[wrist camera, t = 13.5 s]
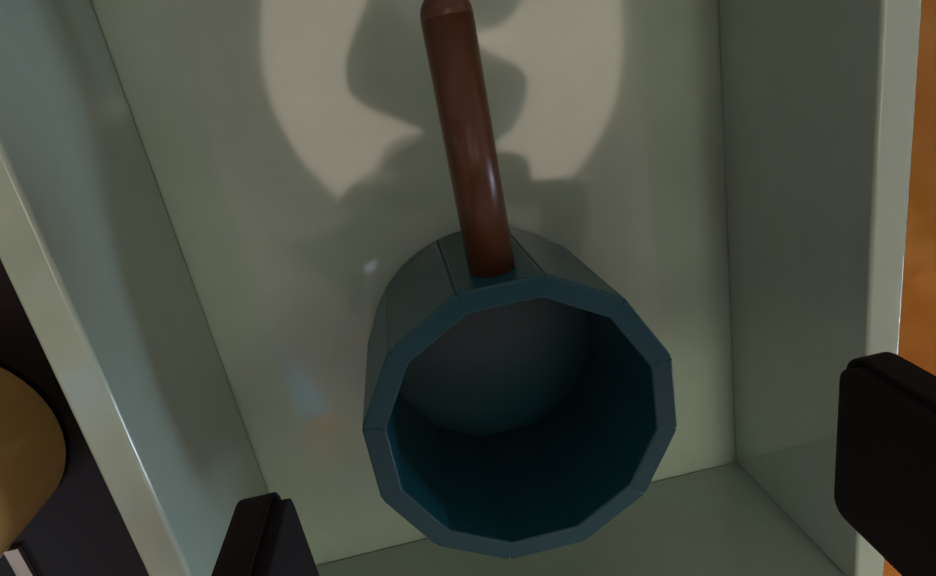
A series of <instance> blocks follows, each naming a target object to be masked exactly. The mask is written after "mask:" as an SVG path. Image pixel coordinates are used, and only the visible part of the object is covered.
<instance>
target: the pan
mask: <svg viewBox="0 0 936 576" xmlns="http://www.w3.org/2000/svg"><path fill="white" fill-rule="evenodd" d="M420 22H421V28H422V33H423V38H424V43H425V48H426V53H427V59H428V64H429V69H430V74H431V79H432V84H433V90H434V95H435V100H436V105H437V110H438V115H439V121H440V126H441V131H442V136H443V141H444V146H445V152H446V157H447V162H448V167H449V172H450V178H451V183H452V188H453V193H454V198H455V203H456V209H457V214H458V219H459V224H460V229H461V231H459V232H455V233H452V234H450V235H447V236H445V237H442V238H440V239H438V240H436V241H434V242H433V243H431V244H429V245H427V246H426V247H424V248H423V249H421V250H420V251H419V252H417V253H416V254H415V255H413V256H412V257H411V258H410V259H409V260H408V261H407V262H406V263H405V264H404V265H403V266H402V267H401V268H400V269H399V270H398V272H397V273H396V274H395V276H394V277H393V278H392V279H391V281H390V282H389V283H388V286H386V288H385V291H384V293H383V295H382V297H381V300H380V302H379V305H378V307H377V310H376V314H375V318H374V322H373V328H372V331H371V334H370V337H369V340H368V349H367V363H366V378H365V393H364V408H363V423H362V432H363V436H364V439H365V443H366V446H367V450H368V453H369V457H370V460H371V464H372V467H373V471H374V474H375V478H376V482H377V485H378V489H379V492H380V496H381V497H382V498H383V500H384V502H386V503H387V504H388V505H389V506H390V507H392V508H393V509H394V510H395V511H396V512H398V513H399V514H400V515H401V516H402V517H403V518H405V519H406V520H407V521H408V522H409V523H411V524H412V525H413V526H414V527H415V528H417V529H418V530H419V531H420V532H421V533H423V534H424V535H425V536H426V537H427V538H428V539H430V540H431V541H432V542H433V543H434V544H438V545H439V546H441V547H446V548H451V549H457V550H462V551H467V552H472V553H478V554H483V555H488V556H493V557H499V558H504V559H509V558H511V559H515V558H519V557H523V556H527V555H531V554H535V553H539V552H543V551H547V550H551V549H555V548H559V547H562V546H566V545H570V544H574V543H578V542H582V541H583V539H585V540H586V539H588V538H589V537H590V536H591V535H593V534H594V533H595V532H597V531H598V530H599V529H600V528H602V527H603V526H604V525H606V524H607V523H608V522H609V521H611V520H612V519H613V518H615V517H616V516H617V515H618V514H620V513H621V512H622V511H624V510H625V509H626V508H627V507H629V506H630V505H631V504H633V503H634V502H635V501H636V500H638V499H639V498H640V497H642V496H643V493H645V492H646V490H647V488H648V486H649V484H650V482H651V480H652V478H653V476H654V474H655V472H656V470H657V468H658V466H659V464H660V462H661V460H662V458H663V456H664V454H665V452H666V450H667V448H668V446H669V444H670V442H671V440H672V438H673V436H674V434H675V432H676V427H677V419H676V406H675V393H674V380H673V367H672V358H671V355H670V353H669V352H668V351H667V349H666V348H665V347H664V346H663V345H662V343H661V342H660V341H659V340H658V338H657V337H656V336H655V335H654V333H653V332H652V331H651V330H650V329H649V327H648V326H647V325H646V324H645V322H644V321H643V320H642V319H641V317H640V316H639V315H638V314H637V313H636V311H635V310H634V309H633V308H632V306H631V305H630V304H629V303H628V301H627V300H626V299H625V298H623V297H622V296H621V295H620V294H619V293H618V292H616V291H615V290H614V289H613V288H612V287H611V286H610V285H608V284H607V283H606V282H605V281H604V280H603V279H601V278H600V277H599V276H598V275H597V274H596V273H594V272H593V271H592V270H591V269H590V268H589V267H587V266H586V265H585V264H584V263H583V262H582V261H581V260H579V259H578V258H577V257H576V256H575V255H574V254H572V253H571V252H570V251H569V250H568V249H567V248H565V247H563V246H562V245H560V244H557V243H554V242H551V241H549V240H547V239H545V238H544V237H541V236H539V235H536V234H534V233H531V232H528V231H524V230H520V229H516V228H509V224H508V218H507V212H506V206H505V200H504V194H503V188H502V182H501V176H500V170H499V164H498V158H497V152H496V146H495V140H494V133H493V127H492V121H491V115H490V109H489V103H488V97H487V91H486V85H485V79H484V73H483V67H482V61H481V55H480V49H479V43H478V36H477V30H476V24H475V18H474V12H473V8H472V5H471V3H470V0H424V1H423V3H422V5H421V9H420Z"/></svg>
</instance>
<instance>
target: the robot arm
mask: <svg viewBox="0 0 936 576" xmlns="http://www.w3.org/2000/svg"><path fill="white" fill-rule="evenodd" d="M834 500H835V504H836V506H837V509H838V511H839V512H840V514H841V515H842V517H843V518H844V519H845V520H846V521H847V522H848V523H849V524H850V525H851V526H852V527H853V528H854V529H855V530H856V531H857V532H858V533H859V534H860V535H861V536H862V537H863V538H864V539H865V540H866V541H867V542H868V543H869V544H870V545H871V546H872V547H874V548H875V549H876V550H877V551H878V552H879V553H880V554H881V555H882V556H883V557H884V558H885V559H886V560H887V561H888V562H889V563H890V564H891V565H892V566H893V567H894V568H895V569H896V570H897V571H898V572H899V573H900V574H901V575H902V576H936V376H934V375H932V374H931V373H929V372H927V371H925V370H923V369H922V368H920V367H918V366H916V365H914V364H913V363H911V362H909V361H907V360H905V359H903V358H902V357H900V356H898V355H896V354H894V353H891V352H881V353H877V354H872V355H868V356H864V357H859V358H855V359H853V360H851V361H850V362H849V363H848V365H847V368H846V370H844V371H842V373H841V375H840V380H839V401H838V421H837V442H836V462H835V483H834ZM211 576H319V573H318V570H317V567H316V564H315V562H314V559H313V556H312V553H311V550H310V548H309V545H308V542H307V539H306V536H305V534H304V531H303V528H302V525H301V522H300V520H299V517H298V514H297V511H296V508H295V506H294V503H293V501H292V500H291V499H290V498H288V499H283V500H281V497H280V496H279V494H278V493H276V492H272V493H268V494H264V495H259V496H255V497H251V498H246V499H242V500H240V501H239V502H238V503H237V505H236V508H235V510H234V513H233V516H232V519H231V522H230V524H229V527H228V530H227V533H226V536H225V538H224V541H223V544H222V547H221V550H220V552H219V555H218V558H217V561H216V564H215V566H214V569H213V572H212V575H211Z"/></svg>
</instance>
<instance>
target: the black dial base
mask: <svg viewBox="0 0 936 576" xmlns="http://www.w3.org/2000/svg"><path fill="white" fill-rule="evenodd" d="M0 367H1V368H3V369H5V370H7V371H9V372H11V373H12V374H14V375H16V376H17V377H19V378H20V379H22V380H23V381H24V382H26V383H27V384H28V385H29V386H30V387H32V388H33V389H34V390H35V391H36V392H37V393H38V394H39V395H40V396H41V397H42V398H43V399H44V400H45V402H46V403H47V404H48V406H49V407H50V408H51V410H52V411H53V413H54V415H55V416H56V418H57V420H58V422H59V424H60V427H61V429H62V432H63V436H64V440H65V446H66V461H65V469H64V472H63V476H62V479H61V481H60V483H59V485H58V487H57V489H56V490H55V492H54V493H53V494H52V496H51V497H50V498H49V500H48V501H47V502H46V503H45V505H44V506H43V507H42V508H41V509H40V511H39V512H38V513H37V514H36V515H35V517H34V518H33V519H32V520H31V521H30V523H29V524H28V525H27V526H26V528H25V529H24V530H23V531H22V532H21V534H20V535H19V536H18V537H17V538H16V540H15V541H14V542H13V543H12V545H11V546H10V547H9V548H8V549H7V551H6V552H5V553H4V554H3V555H2V557H1V558H0V576H149V574H148V572H147V570H146V567H145V565H144V563H143V561H142V559H141V557H140V555H139V553H138V550H137V548H136V546H135V544H134V542H133V540H132V538H131V536H130V533H129V531H128V529H127V527H126V525H125V523H124V521H123V519H122V516H121V514H120V512H119V510H118V508H117V506H116V504H115V502H114V499H113V497H112V495H111V493H110V491H109V489H108V487H107V485H106V482H105V480H104V478H103V476H102V474H101V472H100V470H99V468H98V465H97V463H96V461H95V459H94V457H93V455H92V453H91V450H90V448H89V446H88V444H87V442H86V440H85V438H84V436H83V433H82V431H81V429H80V427H79V425H78V423H77V421H76V419H75V416H74V414H73V412H72V410H71V408H70V406H69V404H68V402H67V399H66V397H65V395H64V393H63V391H62V389H61V387H60V385H59V382H58V380H57V378H56V376H55V374H54V372H53V370H52V368H51V365H50V363H49V361H48V359H47V357H46V355H45V353H44V351H43V348H42V346H41V344H40V342H39V340H38V338H37V336H36V334H35V331H34V329H33V327H32V325H31V323H30V321H29V319H28V317H27V314H26V312H25V310H24V308H23V306H22V304H21V302H20V300H19V297H18V295H17V293H16V291H15V289H14V287H13V285H12V283H11V280H10V278H9V276H8V274H7V272H6V270H5V268H4V265H3V263H2V261H1V259H0Z"/></svg>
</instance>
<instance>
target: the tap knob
mask: <svg viewBox="0 0 936 576" xmlns="http://www.w3.org/2000/svg"><path fill="white" fill-rule="evenodd" d="M65 461H66V446H65V440H64V436H63V432H62V429H61V427H60V424H59V422H58V420H57V418H56V416H55V415H54V413H53V411H52V410H51V408H50V407H49V406H48V404H47V403H46V402H45V400H44V399H43V398H42V397H41V396H40V395H39V394H38V393H37V392H36V391H35V390H34V389H33V388H32V387H30V386H29V385H28V384H27V383H26V382H24V381H23V380H22V379H20V378H19V377H17V376H16V375H14V374H12V373H11V372H9V371H7V370H5V369H3V368H1V367H0V558H1V557H2V555H3V554H4V553H5V552H6V551H7V549H8V548H9V547H10V546H11V545H12V543H13V542H14V541H15V540H16V538H17V537H18V536H19V535H20V534H21V532H22V531H23V530H24V529H25V528H26V526H27V525H28V524H29V523H30V521H31V520H32V519H33V518H34V517H35V515H36V514H37V513H38V512H39V511H40V509H41V508H42V507H43V506H44V505H45V503H46V502H47V501H48V500H49V498H50V497H51V496H52V494H53V493H54V492H55V490H56V489H57V487H58V485H59V483H60V481H61V479H62V476H63V472H64V469H65Z"/></svg>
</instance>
